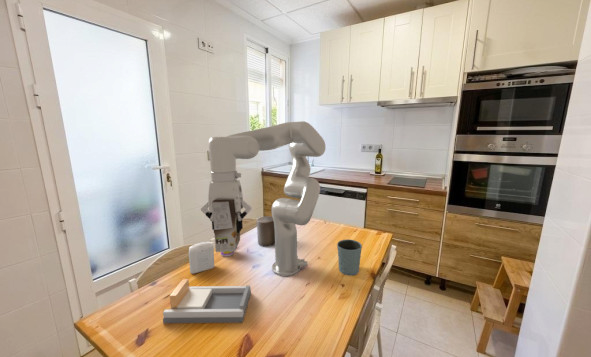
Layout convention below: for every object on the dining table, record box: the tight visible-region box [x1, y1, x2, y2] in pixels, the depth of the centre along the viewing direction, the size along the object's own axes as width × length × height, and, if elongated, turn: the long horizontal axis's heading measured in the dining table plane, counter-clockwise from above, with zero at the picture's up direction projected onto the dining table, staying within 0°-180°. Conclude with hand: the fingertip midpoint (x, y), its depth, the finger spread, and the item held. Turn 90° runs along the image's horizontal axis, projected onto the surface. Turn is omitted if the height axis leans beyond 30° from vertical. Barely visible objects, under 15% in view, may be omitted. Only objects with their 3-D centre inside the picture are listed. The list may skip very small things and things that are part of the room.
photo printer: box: [188, 241, 215, 275], centre depth 105 cm, size 10×4×12 cm, turn 123°
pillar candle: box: [256, 216, 275, 248], centre depth 130 cm, size 10×10×15 cm
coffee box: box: [212, 200, 241, 253], centre depth 77 cm, size 9×6×16 cm
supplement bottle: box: [220, 251, 235, 258], centre depth 118 cm, size 7×7×13 cm
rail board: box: [162, 284, 252, 324], centre depth 81 cm, size 25×14×4 cm, turn 90°
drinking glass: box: [336, 239, 363, 277], centre depth 102 cm, size 10×10×12 cm
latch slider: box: [169, 278, 212, 309], centre depth 81 cm, size 10×9×6 cm
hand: (227, 231), depth 77 cm, fingers closed on coffee box, 6 cm apart
